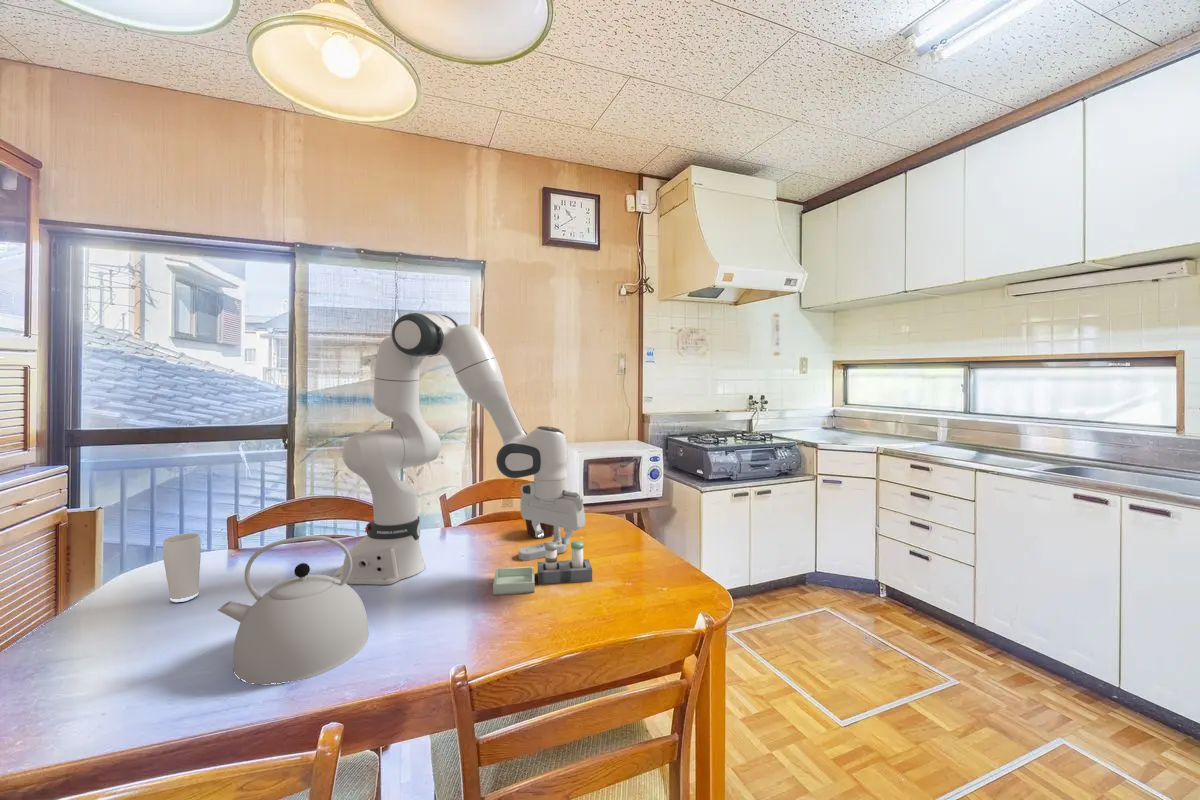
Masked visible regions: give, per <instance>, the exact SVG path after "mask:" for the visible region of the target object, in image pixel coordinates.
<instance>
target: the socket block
mask: <svg viewBox="0 0 1200 800" xmlns="http://www.w3.org/2000/svg"><path fill="white" fill-rule="evenodd" d="M578 582H579V583H580V582H581V583H582V582H593V567H592V565H591V562H590V559H586V558H585V559H584V558H583V568H573V569H572V559H570V560H568V559H567V560H557V569H556V570H545V561H538V562H537V583H538V585H544V584H545V585H549V584H562V583H563V584H564V583H578Z"/></svg>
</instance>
